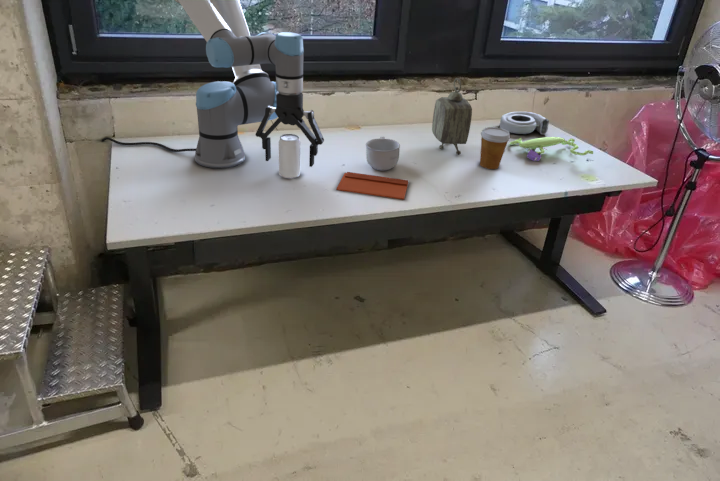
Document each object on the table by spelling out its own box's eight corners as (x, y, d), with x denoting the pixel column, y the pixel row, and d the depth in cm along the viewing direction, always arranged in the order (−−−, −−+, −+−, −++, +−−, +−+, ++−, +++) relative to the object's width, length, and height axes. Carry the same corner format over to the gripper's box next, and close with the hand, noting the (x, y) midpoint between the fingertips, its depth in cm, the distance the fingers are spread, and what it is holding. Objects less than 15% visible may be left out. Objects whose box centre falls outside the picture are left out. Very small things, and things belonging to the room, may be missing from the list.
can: (283, 180, 161) (283, 142, 154) (275, 171, 165) (275, 134, 159) (303, 177, 163) (303, 139, 157) (295, 169, 168) (295, 132, 162)
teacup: (394, 175, 169) (397, 151, 165) (361, 170, 170) (363, 147, 166) (400, 159, 181) (403, 136, 177) (369, 155, 182) (371, 132, 178)
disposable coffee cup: (506, 164, 184) (513, 130, 178) (500, 173, 176) (507, 138, 170) (478, 158, 187) (485, 124, 181) (471, 167, 179) (478, 132, 173)
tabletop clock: (464, 157, 186) (477, 85, 174) (439, 157, 185) (450, 84, 172) (452, 142, 199) (463, 73, 186) (428, 141, 197) (438, 72, 184)
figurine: (593, 167, 187) (598, 152, 184) (517, 161, 187) (520, 146, 184) (577, 147, 203) (581, 133, 200) (506, 142, 202) (509, 127, 200)
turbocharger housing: (492, 126, 221) (509, 139, 209) (494, 110, 218) (511, 123, 205) (530, 123, 224) (548, 135, 212) (532, 107, 221) (551, 119, 209)
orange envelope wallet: (336, 190, 157) (336, 187, 157) (344, 174, 168) (344, 171, 167) (403, 199, 155) (404, 196, 154) (408, 182, 165) (408, 180, 165)
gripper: (242, 90, 150) (245, 161, 161) (329, 100, 147) (327, 172, 157) (252, 83, 156) (254, 152, 167) (335, 93, 153) (333, 162, 164)
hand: (289, 162), depth 162 cm, fingers open, 13 cm apart
